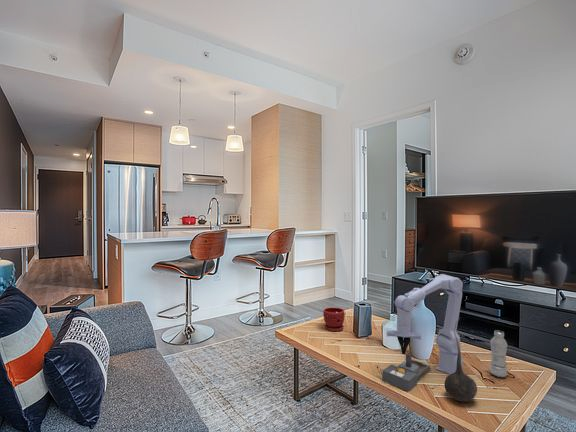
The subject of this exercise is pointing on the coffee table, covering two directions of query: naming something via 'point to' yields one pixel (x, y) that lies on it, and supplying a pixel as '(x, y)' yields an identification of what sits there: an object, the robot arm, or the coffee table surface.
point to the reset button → (401, 370)
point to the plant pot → (334, 319)
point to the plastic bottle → (498, 354)
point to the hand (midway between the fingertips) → (403, 353)
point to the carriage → (409, 365)
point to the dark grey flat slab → (421, 369)
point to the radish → (460, 382)
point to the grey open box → (399, 378)
